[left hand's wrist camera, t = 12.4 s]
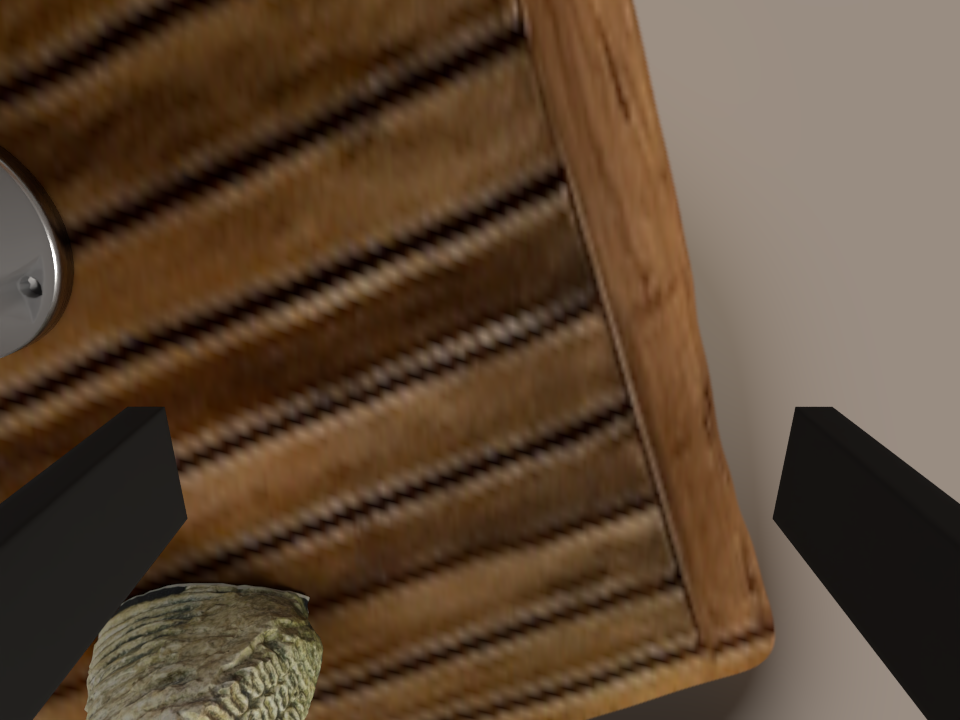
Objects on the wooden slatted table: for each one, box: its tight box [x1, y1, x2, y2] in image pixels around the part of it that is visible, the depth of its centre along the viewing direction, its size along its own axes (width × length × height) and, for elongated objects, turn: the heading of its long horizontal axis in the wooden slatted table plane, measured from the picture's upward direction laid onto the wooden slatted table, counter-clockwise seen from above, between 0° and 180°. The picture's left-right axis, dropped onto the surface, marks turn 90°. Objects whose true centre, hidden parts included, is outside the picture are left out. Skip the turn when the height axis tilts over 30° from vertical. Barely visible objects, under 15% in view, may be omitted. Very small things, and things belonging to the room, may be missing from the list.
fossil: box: [84, 583, 323, 720], centre depth 42 cm, size 9×18×15 cm, turn 105°
